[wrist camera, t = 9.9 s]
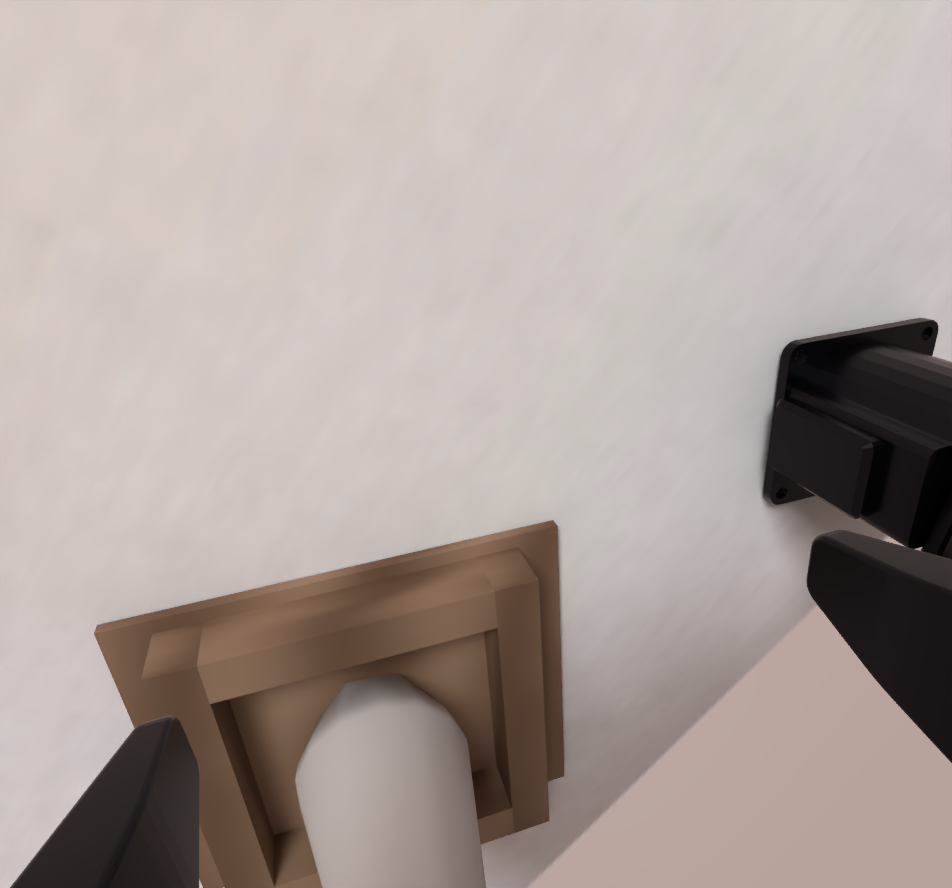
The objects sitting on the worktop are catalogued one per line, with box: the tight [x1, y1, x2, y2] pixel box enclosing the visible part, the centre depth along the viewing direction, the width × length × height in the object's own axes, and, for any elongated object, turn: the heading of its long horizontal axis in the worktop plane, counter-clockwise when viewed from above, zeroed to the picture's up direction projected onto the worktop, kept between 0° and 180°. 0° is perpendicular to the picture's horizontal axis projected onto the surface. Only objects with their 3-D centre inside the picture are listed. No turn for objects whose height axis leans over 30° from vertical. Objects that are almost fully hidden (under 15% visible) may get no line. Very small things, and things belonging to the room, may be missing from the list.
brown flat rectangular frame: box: [94, 520, 564, 888], centre depth 23 cm, size 15×13×2 cm
